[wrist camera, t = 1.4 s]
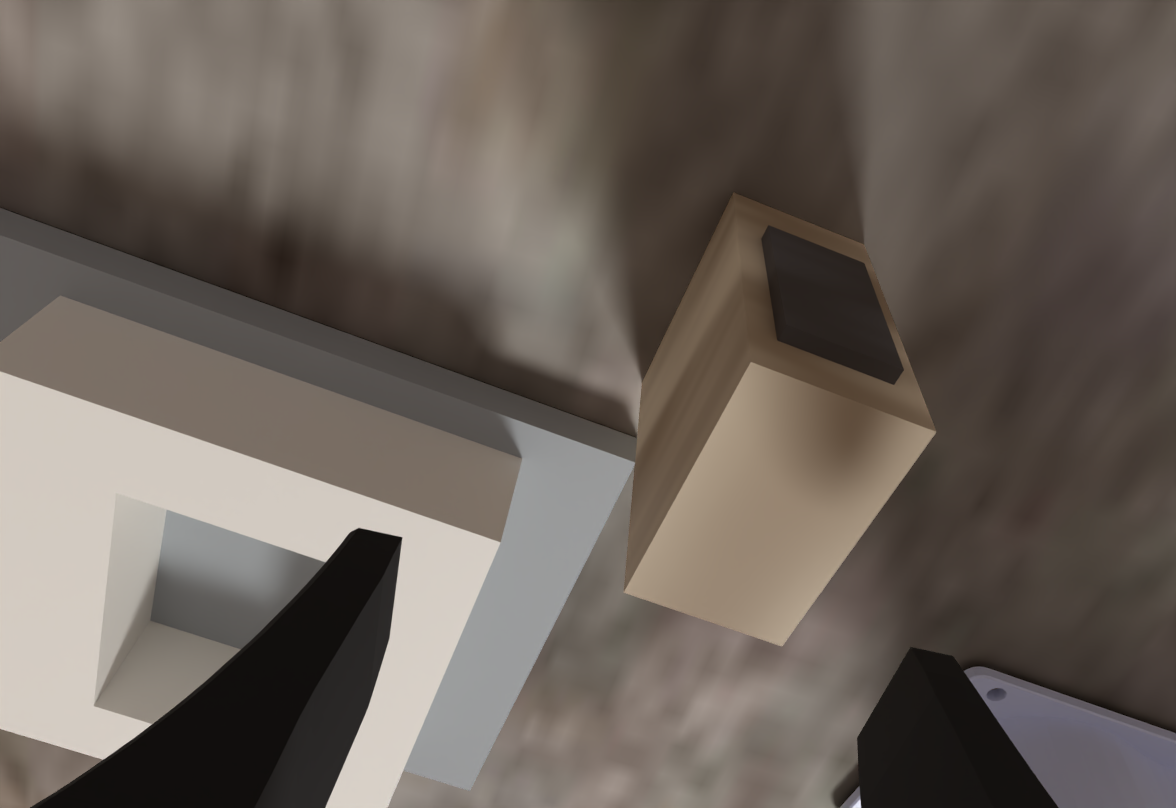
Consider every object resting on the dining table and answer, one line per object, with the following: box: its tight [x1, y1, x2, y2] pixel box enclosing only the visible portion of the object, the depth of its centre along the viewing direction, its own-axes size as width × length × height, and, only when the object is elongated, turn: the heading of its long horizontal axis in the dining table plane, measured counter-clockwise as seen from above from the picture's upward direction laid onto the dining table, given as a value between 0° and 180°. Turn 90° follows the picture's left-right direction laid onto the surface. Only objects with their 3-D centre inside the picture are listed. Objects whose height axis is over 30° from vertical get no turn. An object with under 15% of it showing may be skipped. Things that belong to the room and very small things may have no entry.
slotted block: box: [0, 208, 637, 808], centre depth 24 cm, size 16×14×4 cm
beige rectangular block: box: [624, 192, 936, 646], centre depth 18 cm, size 3×5×7 cm, turn 160°
